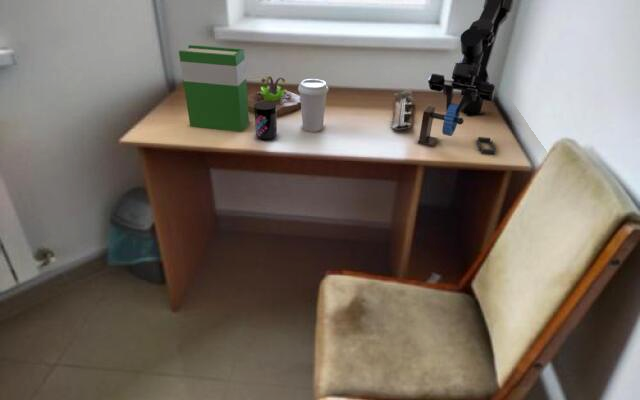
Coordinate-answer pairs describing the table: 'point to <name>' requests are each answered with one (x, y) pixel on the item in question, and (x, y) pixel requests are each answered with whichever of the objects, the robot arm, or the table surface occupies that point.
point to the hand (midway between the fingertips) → (451, 113)
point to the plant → (275, 97)
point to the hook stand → (427, 124)
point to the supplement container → (265, 120)
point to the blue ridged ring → (450, 120)
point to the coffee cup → (313, 103)
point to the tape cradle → (486, 140)
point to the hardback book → (215, 87)
